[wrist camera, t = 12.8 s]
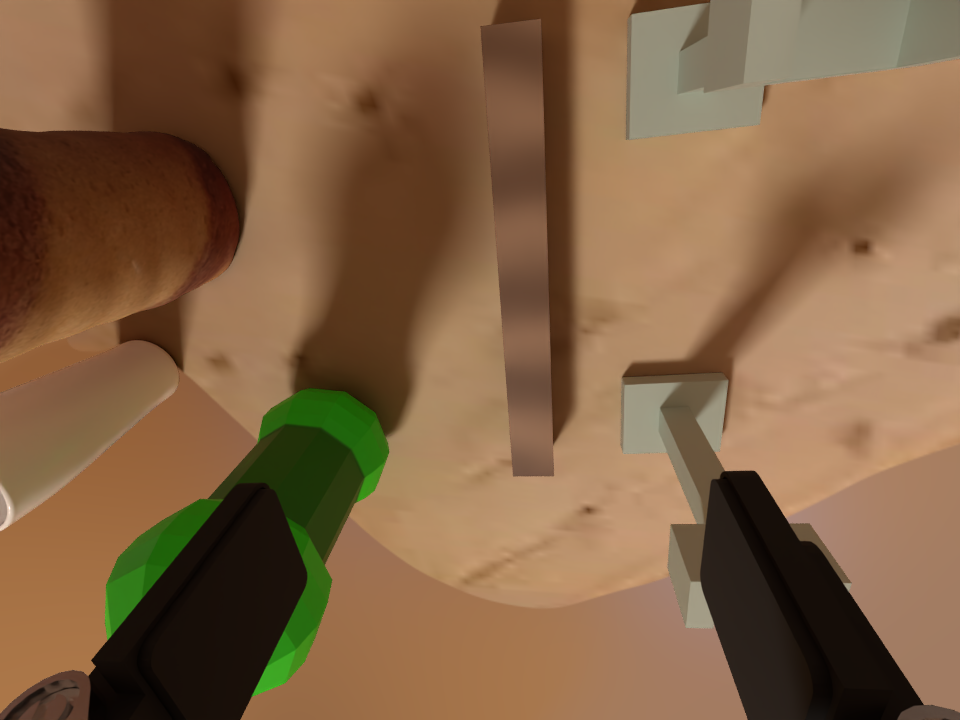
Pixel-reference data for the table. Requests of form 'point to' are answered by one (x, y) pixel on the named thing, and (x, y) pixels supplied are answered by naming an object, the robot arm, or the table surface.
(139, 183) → the wafer roll
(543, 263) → the walnut rail
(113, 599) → the plastic bottle
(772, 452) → the table surface
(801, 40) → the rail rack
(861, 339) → the table surface
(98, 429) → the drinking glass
